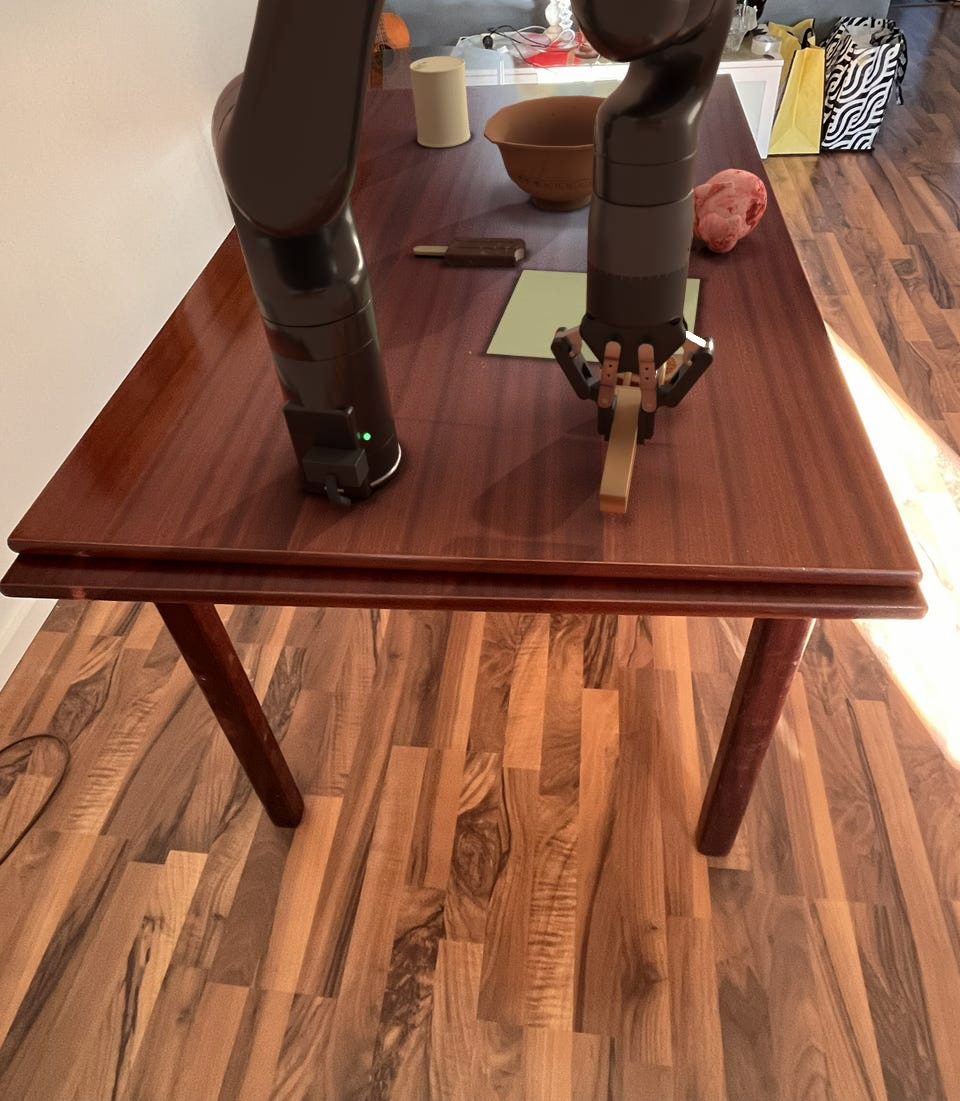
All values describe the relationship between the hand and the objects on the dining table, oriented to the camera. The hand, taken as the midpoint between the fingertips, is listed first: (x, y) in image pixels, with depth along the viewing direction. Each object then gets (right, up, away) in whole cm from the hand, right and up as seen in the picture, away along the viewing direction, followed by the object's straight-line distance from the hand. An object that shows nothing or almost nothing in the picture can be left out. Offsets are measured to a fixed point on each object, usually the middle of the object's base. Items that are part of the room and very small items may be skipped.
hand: (625, 437), depth 72 cm
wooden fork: (0, 0, 0) cm, 1 cm away
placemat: (+1, +17, +22) cm, 28 cm away
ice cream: (+16, +29, +33) cm, 47 cm away
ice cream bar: (-14, +29, +35) cm, 48 cm away
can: (-19, +61, +69) cm, 94 cm away
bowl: (-1, +41, +47) cm, 63 cm away
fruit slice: (+2, +4, +6) cm, 8 cm away
